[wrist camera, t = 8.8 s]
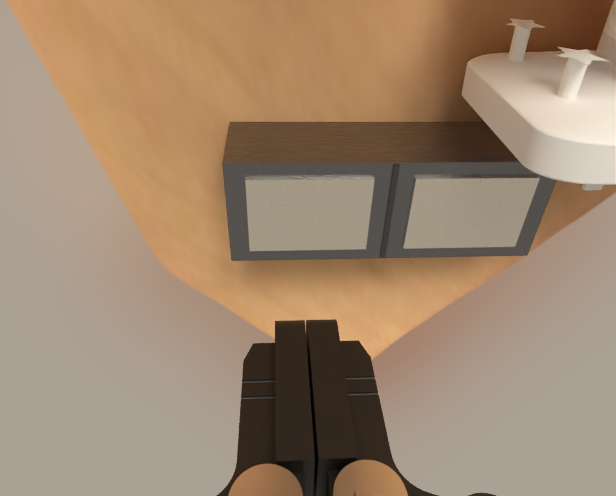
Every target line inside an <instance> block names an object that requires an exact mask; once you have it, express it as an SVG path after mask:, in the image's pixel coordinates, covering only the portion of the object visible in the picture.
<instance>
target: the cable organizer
mask: <svg viewBox="0 0 616 496" xmlns="http://www.w3.org/2000/svg"><path fill="white" fill-rule="evenodd" d="M508 19H510V20H511V21H512V23H508V24H505V25H513V26H515V30H514V34H513V38H512V43H511V47H510V51H509V52H508V53H493V54H486V55H481V56H478V57H475V58H473V59H471V60H469V61H468V63H467V67H466V72H465V77H464V83H463V88H462V96H463V98H464V99H465V100H466V101H467V102H468V104H469V105H470V106H471V107H472V108H473V109H474V110H475V111H476V113H477V114H478V115H479V116H480V117H481V118H482V119H483V121H484V122H485V123H486V124H487V125H488V126H489V127H490V128H491V130H492V131H493V132H494V133H495V134H496V135H497V136H498V138H499V139H500V140H501V141H502V142H503V143H504V144H505V145H506V147H507V148H508V149H509V150H510V151H511V152H512V153H513V155H514V156H515V157H516V158H517V159H518V160H519V161H520V162H521V164H522V165H524V166H525V167H526V168H527V169H529V170H531V171H532V172H534V173H537V174H539V175H541V176H544V177H547V178H550V179H554V180H558V181H563V182H568V183H575V184H583V186H582V189H583V190H584V191H588V190H602V187H603V185H616V0H613V3H612V6H611V9H610V12H609V15H608V18H607V21H606V24H605V27H604V29H603V32H602V35H601V38H600V41H599V44H598V47H597V50H588V49H584V50H574V49H569V48H563V47H558V48H559V49H561V50H562V51H546V52H525V51H526V47H527V43H528V40H529V36H530V32H531V29H532V28H533V27H542V28H547V27H544V26H541V25H538V24H535V23H534V22H533V20H520V19H512V18H508Z"/></svg>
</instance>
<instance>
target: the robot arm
mask: <svg viewBox="0 0 616 496" xmlns="http://www.w3.org/2000/svg"><path fill="white" fill-rule="evenodd" d="M217 496H437V495H434V494H431V493H428V492H425V491H423V490H421V489H419V488H417V487H415V486H414V485H412V484H411V483H410V482H409V481H407V480H406V479H405V478H404V477H403V476H402V474H401V473H400V472H399V470H398V469H397V467H396V466H395V463H394V461H393V459H392V455H391V451H390V446H389V442H388V437H387V432H386V428H385V423H384V418H383V413H382V409H381V405H380V399H379V396H378V390H377V385H376V381H375V378H374V371H373V367H372V362H371V357H370V356H369V354H368V353H367V352H366V350H365V349H364V348H363V346H362V345H361V344H360V342H359V341H340V338H339V332H338V325H337V321H336V320H307V321H306V332H305V321H304V320H301V321H275V343H257V344H253V345H252V347H251V349H250V351H249V352H248V354H247V356H246V358H245V359H244V363H243V379H242V393H241V408H240V423H239V439H238V455H237V464H236V469H235V472H234V475H233V477H232V479H231V481H230V482H229V483H228V485H227V486H226V487H225V489H224V490H223V491H222V492H221V493H220V494H219V495H217ZM469 496H495V495H492V494H488V493H475V494H472V495H469Z"/></svg>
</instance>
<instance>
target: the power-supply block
mask: <svg viewBox="0 0 616 496" xmlns="http://www.w3.org/2000/svg"><path fill="white" fill-rule="evenodd" d="M223 174H224V185H225V195H226V206H227V217H228V228H229V238H230V249H231V260H232V261H241V260H298V259H354V258H410V257H466V256H523V255H528V252H529V250H530V247H531V244H532V242H533V239H534V237H535V234H536V232H537V229H538V226H539V224H540V221H541V219H542V216H543V214H544V211H545V208H546V206H547V203H548V201H549V198H550V195H551V193H552V190H553V188H554V185H555V183H556V180H554V179H550V178H547V177H544V176H541V175H539V174H537V173H534V172H532V171H531V170H529V169H527V168H526V167H525V166H524V165H522V164H521V162H520V161H519V160H518V159H517V158H516V157H515V156H514V155H513V153H512V152H511V151H510V150H509V149H508V148H507V147H506V145H505V144H504V143H503V142H502V141H501V140H500V139H499V138H498V136H497V135H496V134H495V133H494V132H493V131H492V130H491V128H490V127H489V126H488V125H487V124H486V123H485V122H230V124H229V130H228V136H227V141H226V147H225V153H224V158H223Z"/></svg>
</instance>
